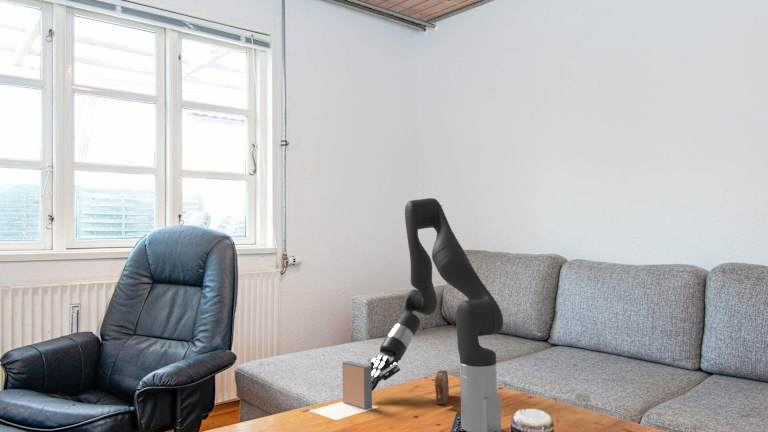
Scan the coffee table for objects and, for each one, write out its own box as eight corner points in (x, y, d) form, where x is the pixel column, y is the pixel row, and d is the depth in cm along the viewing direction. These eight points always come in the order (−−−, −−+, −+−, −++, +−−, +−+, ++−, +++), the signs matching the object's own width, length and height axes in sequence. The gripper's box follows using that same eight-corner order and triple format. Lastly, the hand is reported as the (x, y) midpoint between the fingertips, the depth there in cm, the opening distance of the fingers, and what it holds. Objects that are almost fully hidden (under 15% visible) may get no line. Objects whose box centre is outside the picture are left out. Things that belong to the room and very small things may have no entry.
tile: (371, 407, 161) (371, 365, 161) (365, 409, 159) (364, 367, 159) (349, 400, 168) (348, 360, 168) (342, 402, 166) (342, 362, 167)
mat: (378, 409, 161) (378, 407, 161) (335, 422, 150) (335, 420, 150) (351, 401, 170) (351, 399, 170) (309, 412, 159) (309, 410, 159)
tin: (445, 408, 161) (444, 379, 161) (434, 408, 162) (433, 379, 162) (449, 394, 176) (449, 367, 176) (439, 394, 176) (439, 367, 177)
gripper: (376, 332, 179) (347, 378, 170) (406, 337, 169) (377, 385, 160) (388, 346, 182) (361, 392, 173) (418, 352, 173) (390, 400, 164)
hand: (369, 389), depth 167 cm, fingers closed
